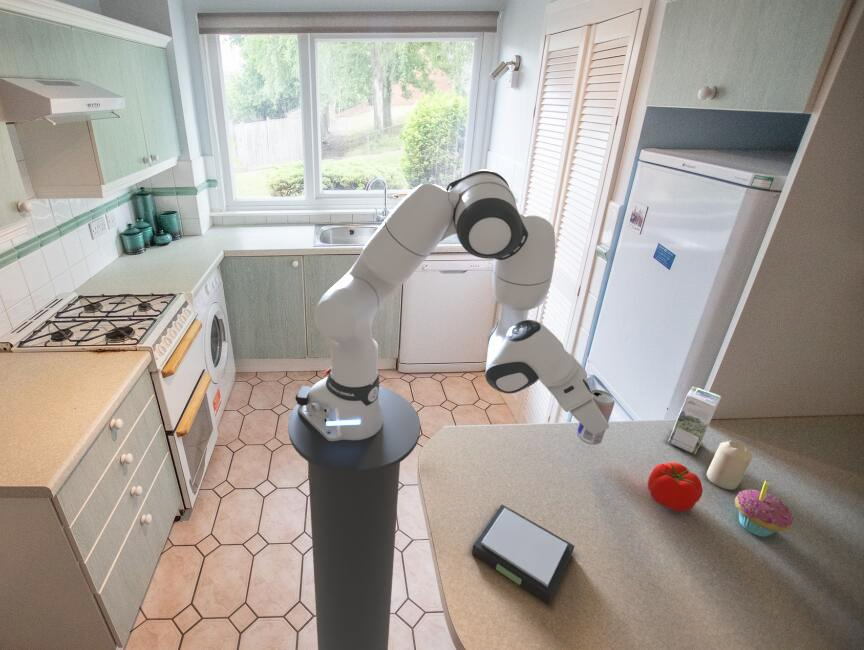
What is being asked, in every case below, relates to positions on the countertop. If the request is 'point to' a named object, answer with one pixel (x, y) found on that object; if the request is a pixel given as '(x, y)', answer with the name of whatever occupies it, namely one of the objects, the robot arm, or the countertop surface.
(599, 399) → the energy drink
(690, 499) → the tomato
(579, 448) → the countertop surface
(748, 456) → the candle
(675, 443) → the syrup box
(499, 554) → the scale
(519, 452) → the countertop surface
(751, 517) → the cupcake
